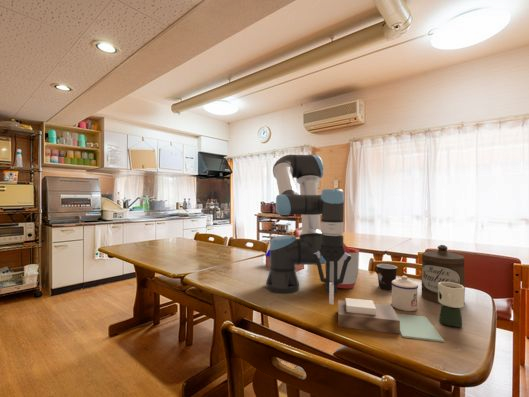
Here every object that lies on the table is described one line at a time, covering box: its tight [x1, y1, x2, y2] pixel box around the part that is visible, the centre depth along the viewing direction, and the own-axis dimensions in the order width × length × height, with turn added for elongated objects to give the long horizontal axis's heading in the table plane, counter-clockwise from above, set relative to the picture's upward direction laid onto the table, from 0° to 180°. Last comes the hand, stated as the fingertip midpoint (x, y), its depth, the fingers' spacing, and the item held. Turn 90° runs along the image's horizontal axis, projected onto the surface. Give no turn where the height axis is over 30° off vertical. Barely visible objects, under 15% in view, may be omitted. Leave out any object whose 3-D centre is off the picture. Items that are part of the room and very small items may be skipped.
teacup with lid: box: [391, 275, 419, 312], centre depth 105 cm, size 12×9×12 cm
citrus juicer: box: [324, 242, 360, 289], centre depth 129 cm, size 16×17×20 cm
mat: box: [396, 313, 445, 343], centre depth 88 cm, size 11×16×1 cm
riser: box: [337, 300, 401, 335], centre depth 91 cm, size 18×12×4 cm, turn 76°
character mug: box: [438, 282, 465, 327], centre depth 90 cm, size 11×7×13 cm, turn 141°
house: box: [264, 248, 305, 273], centre depth 159 cm, size 12×20×12 cm, turn 48°
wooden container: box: [421, 244, 466, 305], centre depth 113 cm, size 15×15×22 cm
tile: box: [345, 297, 376, 315], centre depth 92 cm, size 9×7×2 cm
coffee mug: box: [374, 263, 398, 292], centre depth 126 cm, size 12×9×10 cm
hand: (331, 302), depth 94 cm, fingers closed
